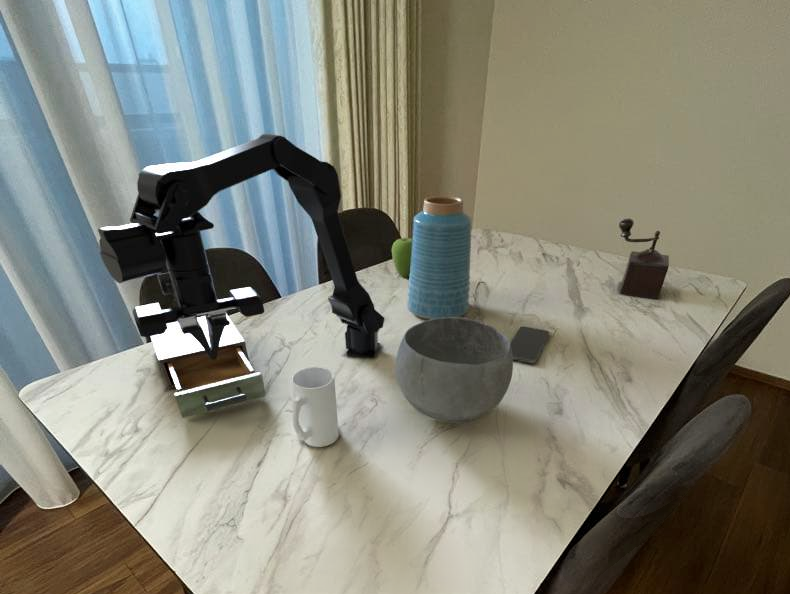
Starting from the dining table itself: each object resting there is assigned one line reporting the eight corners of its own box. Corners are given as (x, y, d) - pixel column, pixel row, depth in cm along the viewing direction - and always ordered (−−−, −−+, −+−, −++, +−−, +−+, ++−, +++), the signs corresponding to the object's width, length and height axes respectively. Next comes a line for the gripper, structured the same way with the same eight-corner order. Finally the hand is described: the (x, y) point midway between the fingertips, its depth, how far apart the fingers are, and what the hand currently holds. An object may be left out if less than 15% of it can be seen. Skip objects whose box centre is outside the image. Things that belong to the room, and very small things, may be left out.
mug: (314, 421, 86) (306, 363, 78) (347, 430, 84) (341, 371, 76) (283, 453, 79) (270, 393, 71) (317, 464, 77) (308, 403, 69)
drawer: (272, 406, 88) (268, 384, 85) (186, 431, 82) (178, 408, 79) (244, 361, 101) (239, 341, 98) (168, 379, 95) (161, 358, 92)
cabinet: (251, 369, 101) (244, 341, 96) (168, 389, 94) (158, 360, 90) (231, 338, 112) (225, 312, 108) (156, 354, 105) (147, 327, 101)
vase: (397, 316, 122) (397, 203, 105) (420, 294, 134) (423, 190, 117) (457, 327, 117) (467, 211, 101) (475, 303, 129) (486, 196, 112)
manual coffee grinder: (658, 286, 140) (681, 222, 129) (658, 300, 132) (682, 232, 121) (603, 279, 145) (621, 216, 133) (600, 291, 137) (618, 225, 125)
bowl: (476, 458, 78) (486, 380, 69) (375, 419, 87) (372, 345, 77) (521, 400, 92) (534, 329, 82) (430, 371, 100) (433, 304, 91)
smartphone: (502, 354, 104) (520, 325, 116) (502, 358, 105) (519, 329, 116) (535, 361, 102) (550, 330, 113) (534, 365, 103) (549, 334, 114)
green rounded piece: (419, 281, 142) (420, 241, 135) (391, 280, 142) (391, 241, 135) (418, 271, 149) (419, 232, 142) (392, 271, 149) (392, 232, 142)
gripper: (237, 242, 79) (255, 329, 89) (114, 259, 72) (148, 351, 81) (256, 261, 71) (273, 353, 81) (120, 282, 64) (157, 380, 74)
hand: (213, 358), depth 80 cm, fingers closed
